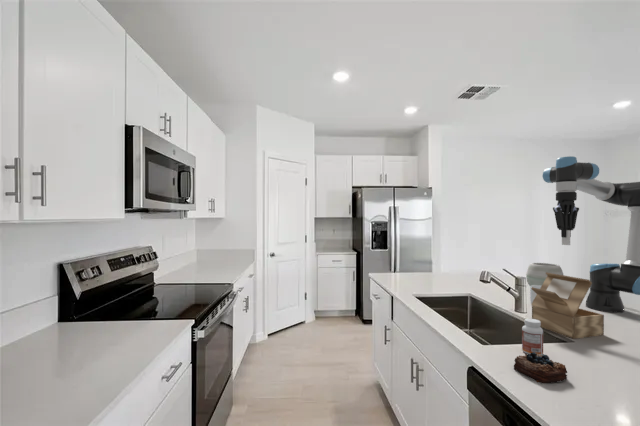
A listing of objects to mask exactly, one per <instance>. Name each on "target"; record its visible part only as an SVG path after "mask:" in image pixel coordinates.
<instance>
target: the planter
mask: <svg viewBox="0 0 640 426" xmlns="http://www.w3.org/2000/svg"><path fill="white" fill-rule="evenodd" d="M546 272H548V273H553V274H559V275H564V272H563V269H562V267H561V265H559V264H555V263H549V262H530V263H529V265H528V267H527V268H526V274H525V275H526V276H525V278H526V282H527V284H528V285H529V287H530V286H532V285H542V284H543V283H544V281H545V279H546V277H547V276H548V275H547V274H546Z"/></svg>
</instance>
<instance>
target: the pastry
mask: <svg viewBox="0 0 640 426" xmlns="http://www.w3.org/2000/svg"><path fill="white" fill-rule="evenodd" d="M514 362H515V363H513V369H514V370H515V371H516V372H518V373H520V374H521V375H523V376H525V377H527V378H530V379H532V380H533V381H535V382H536V383H540V384H544V385H545V384H546V385H547V384H556V383H561V382H564V381H566V380H567V378H568V374H567V373H568V370H567V367H566V365H565V364H563V363H561V362H557V361H553V360H552V359H550V357H549V355H547V354H543V355H537V354H536V353H535V352H532V353H531V354H526V353H525V355H517V356H516V357H515V358H514Z"/></svg>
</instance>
